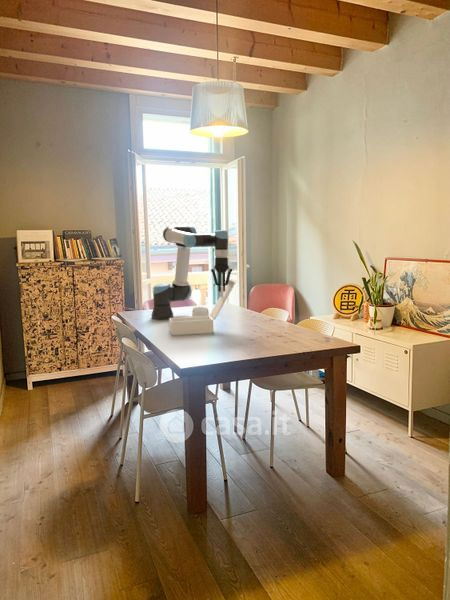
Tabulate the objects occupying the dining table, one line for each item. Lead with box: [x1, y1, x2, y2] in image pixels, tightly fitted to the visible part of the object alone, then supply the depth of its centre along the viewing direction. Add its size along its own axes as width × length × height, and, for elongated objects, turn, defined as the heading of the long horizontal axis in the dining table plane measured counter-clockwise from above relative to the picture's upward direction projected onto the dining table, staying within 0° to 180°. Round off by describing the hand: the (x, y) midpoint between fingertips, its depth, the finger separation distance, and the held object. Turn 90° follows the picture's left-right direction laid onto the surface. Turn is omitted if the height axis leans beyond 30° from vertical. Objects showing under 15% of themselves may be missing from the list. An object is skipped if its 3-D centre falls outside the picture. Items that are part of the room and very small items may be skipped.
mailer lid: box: [209, 279, 236, 321], centre depth 263 cm, size 13×25×2 cm
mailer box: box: [168, 316, 214, 337], centre depth 261 cm, size 13×24×8 cm, turn 104°
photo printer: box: [191, 306, 210, 317], centre depth 277 cm, size 10×4×12 cm, turn 85°
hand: (221, 296), depth 263 cm, fingers closed
